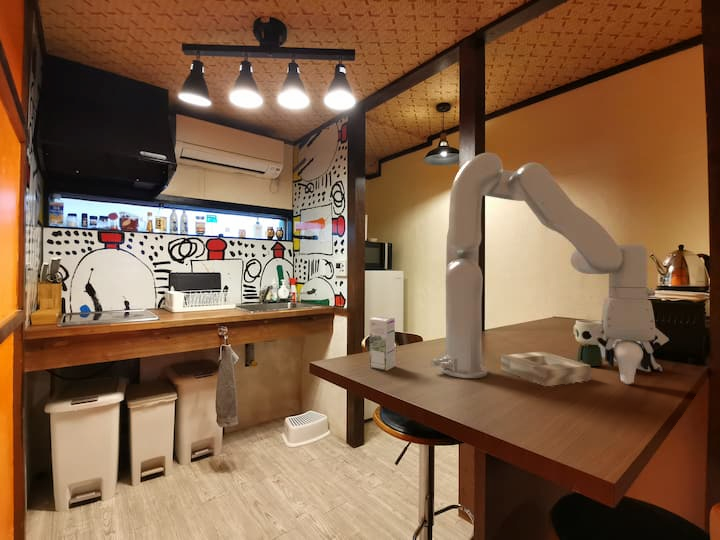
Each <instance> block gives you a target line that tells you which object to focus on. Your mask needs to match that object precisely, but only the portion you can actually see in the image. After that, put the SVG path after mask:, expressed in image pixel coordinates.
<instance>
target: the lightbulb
mask: <svg viewBox="0 0 720 540" xmlns="http://www.w3.org/2000/svg"><path fill="white" fill-rule="evenodd" d="M612 350H614V358H615V360H616V361H617V362H616V361H615V362H616V364H617V365H618V372H619V373H620V381H621V382H622V383H623V384H625V385H630V384H633V383H634V381H635V375H636V371H637V368H636V367H637V365H638V364H639V363H640V361H641V360H642V358H643V350H642V348H641V347H640V346H639V345H638V344H637V343H635V342H633V341H630V340H621V341H618V342H616V343H615V344H614V345H613V347H612Z"/></svg>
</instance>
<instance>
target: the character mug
mask: <svg viewBox="0 0 720 540" xmlns="http://www.w3.org/2000/svg"><path fill="white" fill-rule="evenodd" d="M600 324H601V321H600V320H591V319H578V320H575V324H574V325H573V335H574V336H575V340H576V341H577V342H578V343H580V345H579V347H578V351H577V352H578V353H577V360H576V361H577V362H581V361H582V363H584V364H588V365H590V367H591V366H592V367H596V366H601V365H603V364H604V363H603V357H602V355H601V349H600V347H599V346H598V345H601V344H600V343H599V342H598V341H597V340H596V339H595V338H594V337H593V336H592V335H591V334H590V332H591V331H592V330H593V329H594V328H596V327H597V326H598V325H600ZM598 335H599V336H600V337H601V338H602V339H603V340H606V338H607V337H606V336H605V335H603V334H602V332H600V333H599V334H598Z"/></svg>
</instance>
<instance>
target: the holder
mask: <svg viewBox="0 0 720 540" xmlns="http://www.w3.org/2000/svg"><path fill="white" fill-rule="evenodd" d="M500 370H502V371H503V372H505V373H509V374H511V373H512V374H511V375H513V374H514V375H513V376H516V375H517V376H516V377H518V376H520V377H519V378H521V377H522V378H521V379H523V378H525V379H524V380H526V379H528V380H530V381H529V382H531V381H533V382H535V383H537V384H536V385H538V384H540V385H543V386H551V385H558V384H565V383H572V384H576V383H575V382H579V383H583V382H582V381H586V382H590V381H591V366H590V365H588V364H584V363H583V362H581V361H580V362H577V360H573V359H569V358H566V357H564V356H559V355H556V354H553V353H549V352H545V351H532V352H523V353H522V352H521V353H513V354H503V355H500ZM528 380H527V381H528ZM589 380H590V381H589ZM533 382H532V383H533ZM535 383H534V384H535ZM540 385H539V386H540ZM565 385H566V384H565ZM543 386H542V387H543ZM558 386H559V385H558ZM551 387H552V386H551Z"/></svg>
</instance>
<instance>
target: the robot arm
mask: <svg viewBox="0 0 720 540" xmlns="http://www.w3.org/2000/svg"><path fill="white" fill-rule="evenodd" d="M503 164H504V163H503V161H502V159H501V158H500V157H499V155H497V154H496V153H493V152H483V153H480V154H477V155H475V156H474V157H472V158H471V159H469V160H468V161H467V162H466V163H464V165H462V166H461V168H460V169H459V170H458V172H457V174H456V175H455V178H454V180H453V182H452V186H451V190H450V196H449V197H450V198H449V213H448V229H447V234H446V252H445V253H446V254H445V255H446V256H445V258H446V261H445V353H442V355H441V357H440V358H431V359H430V363H429V364H430V366H431V367H439V368H440V369H439V370H440V371H441V373H443V374H444V375H448V376H451V377H455V378H461V379H479V378H480V379H481V378H483V377H486V376H487V375H488V368H487V367H485V366H484V365H482V352H483V351H482V346H483V345H482V339H483V338H482V333H483V332H482V331H483V330H482V326H483V325H482V318H483V317H482V296H483V285H484V284H483V281H484V280H483V273H482V269H481V267H480V266H479V253H480V252H479V250H480V245H481V242H482V201H483V196H486V197H491V198H497V199H502V200H503V199H504V200H508V201H515V202H516V201H517V202H525V203H526V206H528V208H529V209H530V210H531V211H532V213H533V214H534V215H535V217H536V218H537V219H538V220H539V222H540V223H541V224H542V225H543V226H544V227H546V228H547V229H549V230H551V231H554V232H555V233H558V234H560V235H561V236H563V237H564V238H565V239H566V240H567V241H569V242H570V243H571V244H572V246H573V247H574V248H575V250H574V251H573V252H572V254H571V256H570V265H571V266H572V267H573V269H574V270H576V271H577V272H579V273H581V274H585V275H586V274H587V275H607V274H608V298H604V301H603V305H602V310H601V311H602V312H601V321H600V322H601V324H600V325H598V326H597V327H596V328H594V329H593V330H592V331H591V332H590V334H591V335H592V336H593V337H594V338H595V339H596V340H597V341H598V342H599V343H600V344H602V345H603V346H604V347H605V358H604V360H605V362H607V364H608V365H609V366H611V367H614V365H615V361H614V350H612V346H613V344H614V342H615V340H616V339H618V340H630V341H640V343H641V345H642V347H643V358H642V360H641V367H643V368H644V369H645V370H648V366H651V353H652V354H653V353H654V351H656V350H657V349H659V348H660V347H661V346H662V345H665V343H667V342H669V341H670V339H669V337H667V336H666V335H665V334H664V333H663V332H661V331H660V330H659V329H658V328H657V327H656V323H655V321H656V320H655V315H654V309H653V304H652V301H651V300H649V297H652V296H654V297H655V296H656V290H652V289H649V287H648V248H647V247H646V246H645V245H643V244H617V242H616V241H615V240H614V239H613V237H612V236H611V234H610V233H609V232H608V231H607V229H605V227H604V226H603V225H601V223H600V222H599V221H597V220H596V219H595V218H593V217H592V216H591V215H589V214H588V213H587V212H586V211H584V210H583V209H582V208H580V207H578V206H577V205H576V204H575V203H574V202H573V200H571V198H570V197H569V196H568V194H567V193H566V191H564V189H563V188H562V187H561V186H560V184H559V183H558V182H557V181H556V179H555V178H554V177H553V176H552V174H551V173H550V172H549V170H548V169H547V168H546V167H545V166H544V165H543V164H541V163H538V162H534V161H533V162H529V163H526V164H523V165H521V166H520V167H519V168H518V169H517V170H507V169H504V165H503ZM600 332H602V334H603V335H605V336H606V337H607V338H606V340H603V339H602V338H601V337H600V336H599V335H598V334H599V333H600ZM656 337H657V339H656Z"/></svg>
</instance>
